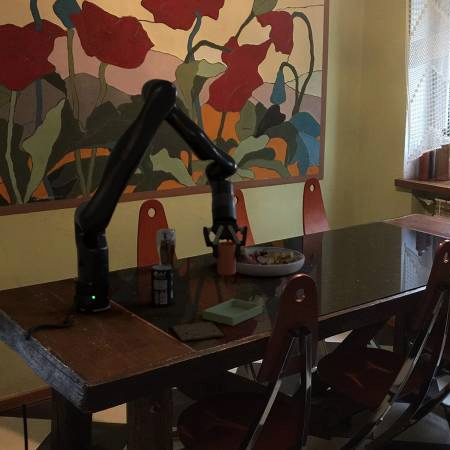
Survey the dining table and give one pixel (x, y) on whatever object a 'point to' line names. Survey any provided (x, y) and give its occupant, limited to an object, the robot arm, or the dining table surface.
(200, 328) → the speckled square tile
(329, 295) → the dining table surface
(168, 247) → the beer glass
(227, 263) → the cup
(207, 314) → the tray
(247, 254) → the bowl
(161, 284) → the beverage can
